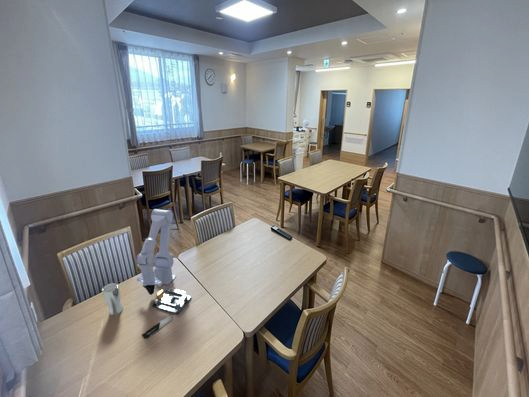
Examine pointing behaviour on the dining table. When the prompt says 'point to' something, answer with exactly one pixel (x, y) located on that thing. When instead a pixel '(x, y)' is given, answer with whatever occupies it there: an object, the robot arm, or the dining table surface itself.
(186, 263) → the dining table surface
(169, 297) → the grey orange block
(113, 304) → the beer glass
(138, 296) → the dining table surface
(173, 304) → the heatsink plate
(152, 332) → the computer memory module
